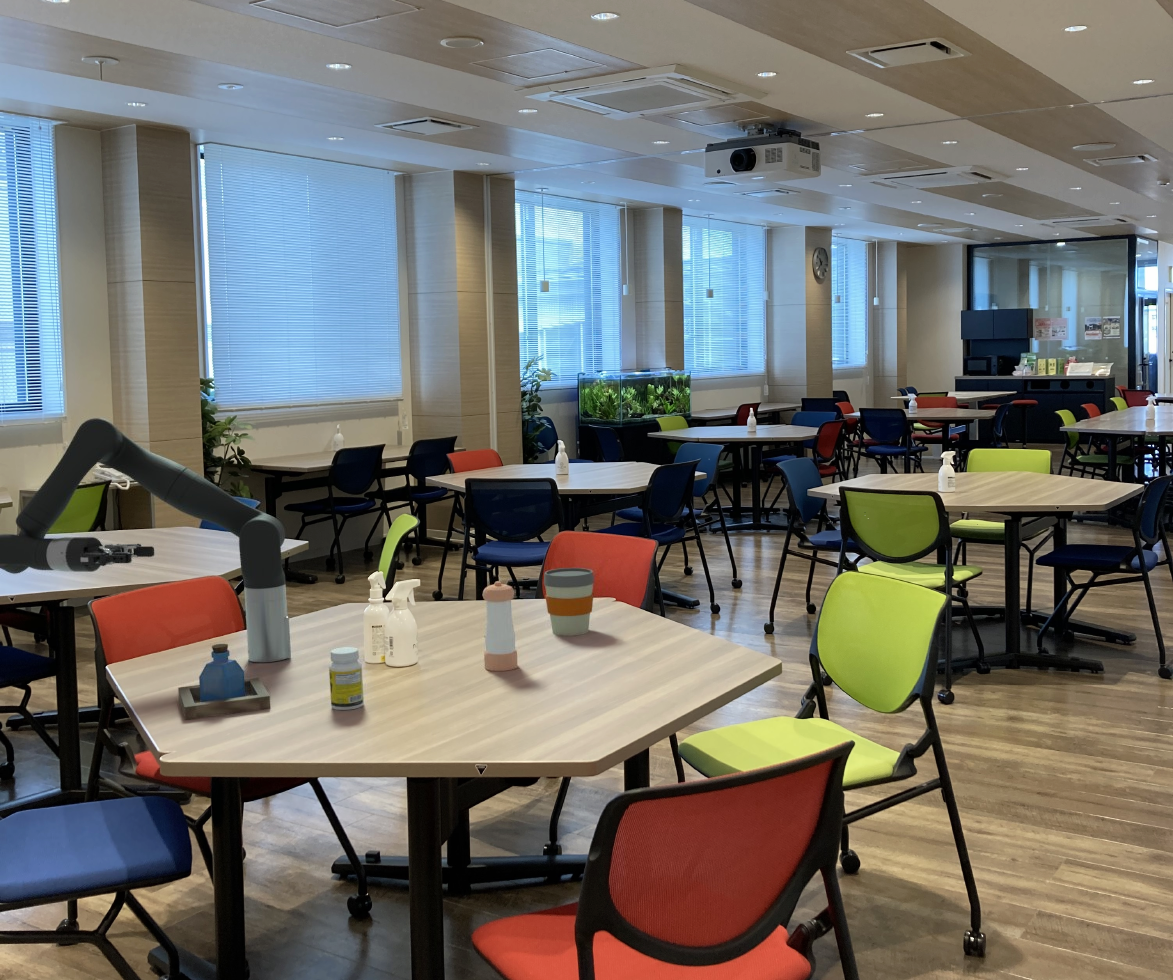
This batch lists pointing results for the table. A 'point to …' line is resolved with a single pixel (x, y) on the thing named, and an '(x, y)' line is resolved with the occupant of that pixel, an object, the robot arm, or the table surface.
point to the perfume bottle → (221, 677)
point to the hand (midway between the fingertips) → (142, 554)
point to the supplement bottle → (346, 679)
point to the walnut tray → (223, 701)
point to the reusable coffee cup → (569, 599)
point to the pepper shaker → (499, 628)
